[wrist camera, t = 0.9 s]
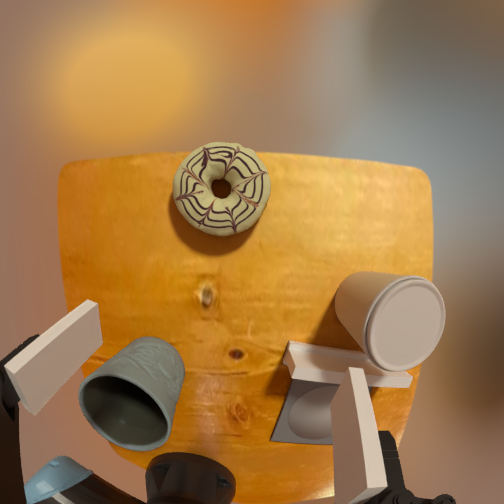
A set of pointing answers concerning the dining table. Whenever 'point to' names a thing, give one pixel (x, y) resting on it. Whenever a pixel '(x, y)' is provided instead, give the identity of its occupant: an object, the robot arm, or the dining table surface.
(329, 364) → the low wall
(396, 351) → the coffee cup
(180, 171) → the decorated donut
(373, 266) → the dining table surface
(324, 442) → the resting mat
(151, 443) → the grey cup
